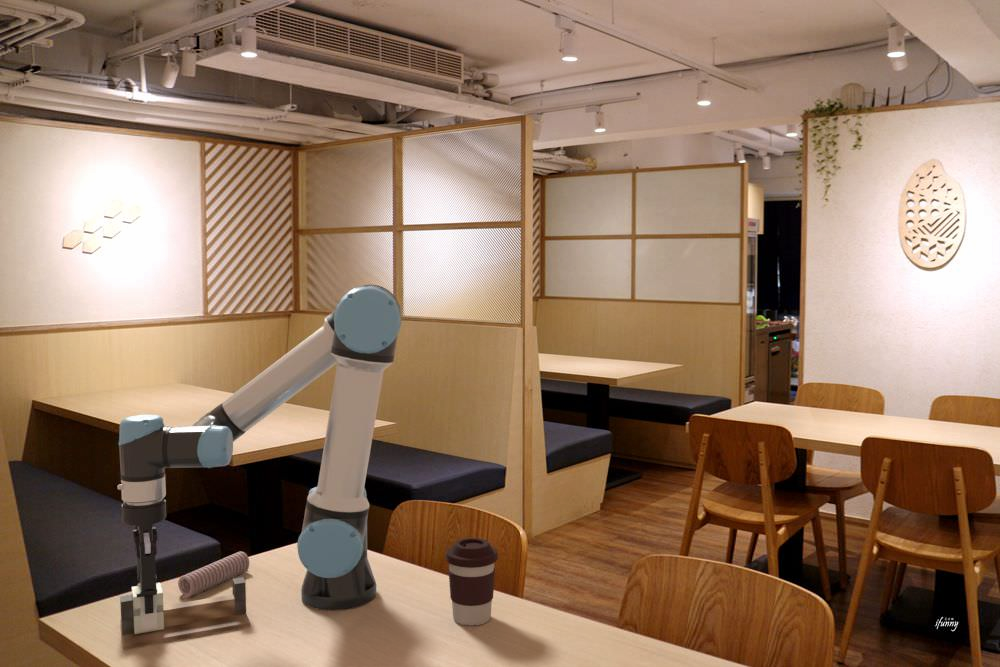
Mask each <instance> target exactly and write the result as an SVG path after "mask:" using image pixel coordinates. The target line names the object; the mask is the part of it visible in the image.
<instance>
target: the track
mask: <svg viewBox="0 0 1000 667" xmlns="http://www.w3.org/2000/svg"><path fill="white" fill-rule="evenodd" d="M231 579H232V581H231V584H232V594H227V595H221V596H214V597H208V598H203V599H196V600H191V601H185V602H178V603H173V604H172V603H171V604H166V605H165V604H164V605H163V613H164V629H162V630H156V631H150V632H145V633H139V634H135V633H134V614H133V598H132V594H128V595H121V596H119V599H120V601H119V603H120V622H119V624H120V632H121V640H122V649H123V650H127V649H134V648H139V647H145V646H149V645H156V644H161V643H165V642H166V643H167V642H171V641H178V640H183V639H189V638H194V637H200V636H204V635H212V634H215V633H217V634H218V633H223V632H227V631H233V630H238V629H244V628H250V627H251V620H250V618H249V617H248V614H247V592H246V591H247V588H246V587H247V585H246V581H245V579H244V576H243V577H236V578H235V577H234V578H231Z"/></svg>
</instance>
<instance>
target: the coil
mask: <svg viewBox="0 0 1000 667" xmlns="http://www.w3.org/2000/svg"><path fill="white" fill-rule="evenodd" d="M249 567H250V558H249V556H248V554H247V553H246V552H244V551H238V552H235V553H233V554H231V555H228V556H226V557H223V558H222V559H219V560H217V561H214V562H212V563H210V564H208V565H205V566H203V567H200V568H198V569H196V570H193V571H191V572H188V573H185V575H181V576H180V577H179V578H178V582H177V585H178V590H179V592H180V593H181V594H182V599H190V598H191V597H194V596H196V595H198V594H200V593H202V592H204V591H207V590H209V589H211V588H213V587H216V586H217V585H220V584H222V583H225V582H226V581H229V580H231V579H234V578H235V577H237V576H239V575H242V574H243V573H247V572H248V571H249Z"/></svg>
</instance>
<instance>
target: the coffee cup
mask: <svg viewBox="0 0 1000 667" xmlns="http://www.w3.org/2000/svg"><path fill="white" fill-rule="evenodd" d="M498 554H499V553H498V549H497V548H496V547H494V546H493V545H491V544H490V542H489V541H488V540H486V539H484V538H479V537H466V538H459V539H457V540H456V541H455V542H453V545H452V546H450V547H448V548H447V549H446V551H445V560H446V562H447V563H448V564H449V566H448V580H449V594H450V596H449V597H450V600H451V607H452V618H453V620H454V621H455V622H456V623H457V624H459V625H462V626H467V625H468V627H474V625H476V626H480V625H481V626H482V625H484V624H486V623H487V622H489V621H490V619H491V617H492V603H493V598H494V592H495V591H494V590H495V579H496V578H495V574H496V568H495V563H497V560H498V557H499V555H498Z"/></svg>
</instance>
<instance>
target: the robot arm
mask: <svg viewBox="0 0 1000 667" xmlns="http://www.w3.org/2000/svg"><path fill="white" fill-rule="evenodd" d="M323 320H324V322H323V325H322V326H321V327H320V328H318V329H317V330H315V331H314V332H313V333H312V334H310V335H309V336H308V337H306V338H305V339H304V340H303V341H301V342H300V343H298V344H297V345H296V346H295V347H293V348H292V349H290V350H289V351H288V352H286V353H285V354H284V355H282V357H281V358H279V359H278V360H276V361H275V362H273V363H272V364H271V365H269V366H268V367H267V368H265V370H263V371H262V372H261V373H259V374H258V375H257V376H255V377H254V378H253V379H252V380H250V381H249V382H248V383H246V384H245V385H243V386H242V387H241V388H239V389H238V390H236V392H234V393H233V394H232V395H230V396H229V397H227V398H226V399H225V400H223V401H222V402H221V403H220V404H218V405H217V406H216V407H215V408H213V409H212V410H211V411H209V412H207V413H206V414H204V415H203V416H202V417H200V418H199V419H198V421H196V422H195V423H194V424H192V425H190V426H189V425H188V426H187V425H186V426H166V425H165V423H164V419H163V417H162V416H161V415H159V414H137V415H131V416H127V417H125V418H123V419H122V420H121V421H120V423H119V436H118V438H119V439H118V448H119V465H120V482H121V483H120V484H118V485H117V490H119V491H121V501H123V503H122V504H121V520H122V521H121V522H122V523H123V524H125V526H126V525H127V526H131V527H134V529H133V530H132V537H133V543H134V551H135V556H136V568H137V570H136V574H137V581H138V582H137V586H141V592H140V594H137V598H138V597H140V609H141V631H144V630H150V629H156V628H157V600H156V595H157V589H156V583H157V570H156V569H157V566H156V564H157V563H156V555H157V554H158V552H157V541H158V531H157V528H156V527H153V525H155V524H158V523H161V522H163V521H164V520H165V519H167V500H166V499H165V497H166V495H167V487H166V471H165V469H174V468H175V469H177V468H178V469H179V468H181V469H182V468H186V469H187V468H208V469H212V468H217V467H226V466H228V465H229V464H230V462H231V461H232V457H233V454H234V453H233V452H234V442H236V440H237V439H239V438H240V437H241V436H243V435H245V434H246V433H247V432H248V431H249V430H250V429H252V428H254V426H256V425H258V423H260V422H261V421H262V420H264V419H265V418H266V417H268V416H269V415H271V414H272V413H273V412H274V411H276V410H277V409H279V408H280V407H281V406H283V404H285V403H287V401H289V400H290V399H291V398H293V397H294V396H295V395H297V394H298V393H299V392H301V391H302V390H303V389H305V388H306V387H308V386H309V385H310V384H311V383H313V382H314V381H316V380H317V379H318V378H319V377H321V376H322V375H324V374H325V373H326V372H327V371H328V370H330V369H331V368H334V366H336V370H335V377H334V383H333V388H332V395H331V401H330V408H329V413H328V420H327V426H326V431H325V432H326V433H325V438H324V445H323V451H322V456H321V457H322V458H321V463H320V470H319V474H318V482H317V486H315V487H313V488H310V490H309V491H308V495H307V498H306V503H305V510H304V516H303V517H304V518H303V523H302V527H301V533H300V534H299V535H298V539H297V545H296V546H297V555H298V559H299V561H300V562H301V564H302V565H303V567H304V568H305V569H306V573H305V575H304V579H303V582H302V584H301V585H302V586H301V596H300V597H301V602H302V603H303V604H304V605H305V606H307V607H310V608H312V609H315V610H322V611H343V610H350V609H355V608H358V607H362V606H365V605H366V604H368V603H370V602H372V601H373V600H374V599H375V598H376V597H377V582H376V579H375V577H374V576H375V575H374V573H373V570H372V568H371V564H370V562H369V559H368V516H369V511H370V502H369V499H368V498H367V496H368V495H367V490H366V487H365V486H366V485H365V484H366V478H367V473H368V472H367V471H368V467H369V461H370V457H371V456H370V455H371V449H372V443H373V436H374V430H375V425H376V418H377V412H378V408H379V407H378V406H379V401H380V396H381V395H380V394H381V389H382V383H383V377H384V371H385V370H386V369H388V368H389V367H390V366H392V365H393V364H394V360H395V355H396V354H395V353H396V349H397V341H398V336H399V332H400V330H401V324H402V312H401V306H400V304H399V301H398V299H397V298H396V296H395V294H393V292H391V291H390V290H388V289H387V288H385V287H384V286H381V285H377V284H365V285H364V284H363V285H361V286H358V287H357V286H356V287H355V288H352V289H351V290H349V291H348V292H346V293H345V294H344V295H343V296H342V297H341V298H340V300H339V301H338V304H337V306H336V307H335V310H332V312H331V313H329V315H327V316H326V317H325V318H324V319H323Z"/></svg>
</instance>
